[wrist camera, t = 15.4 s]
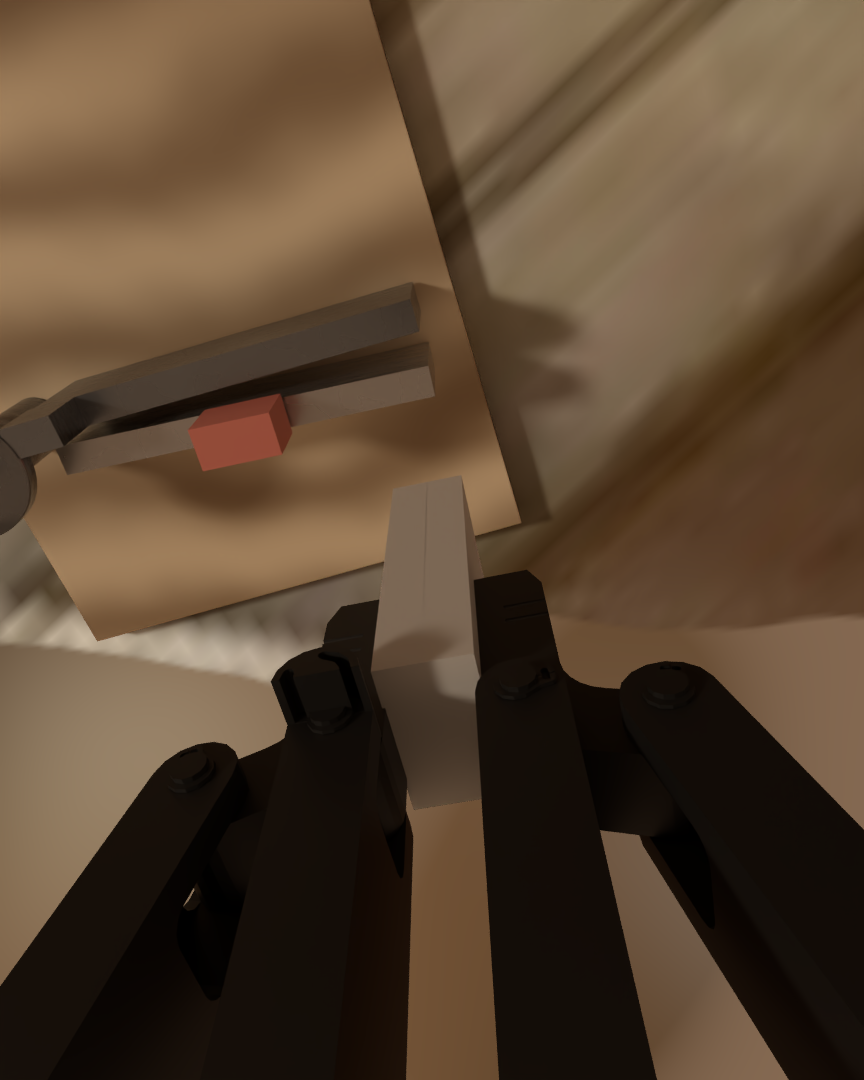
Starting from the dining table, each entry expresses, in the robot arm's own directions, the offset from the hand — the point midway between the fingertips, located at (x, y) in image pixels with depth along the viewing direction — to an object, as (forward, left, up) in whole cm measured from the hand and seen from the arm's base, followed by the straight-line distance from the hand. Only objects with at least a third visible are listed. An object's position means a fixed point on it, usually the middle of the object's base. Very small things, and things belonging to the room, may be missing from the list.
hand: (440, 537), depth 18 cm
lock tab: (0, -7, -14) cm, 16 cm away
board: (-4, -10, -19) cm, 22 cm away
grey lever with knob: (-2, -10, -18) cm, 21 cm away
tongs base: (-1, -10, -18) cm, 21 cm away
